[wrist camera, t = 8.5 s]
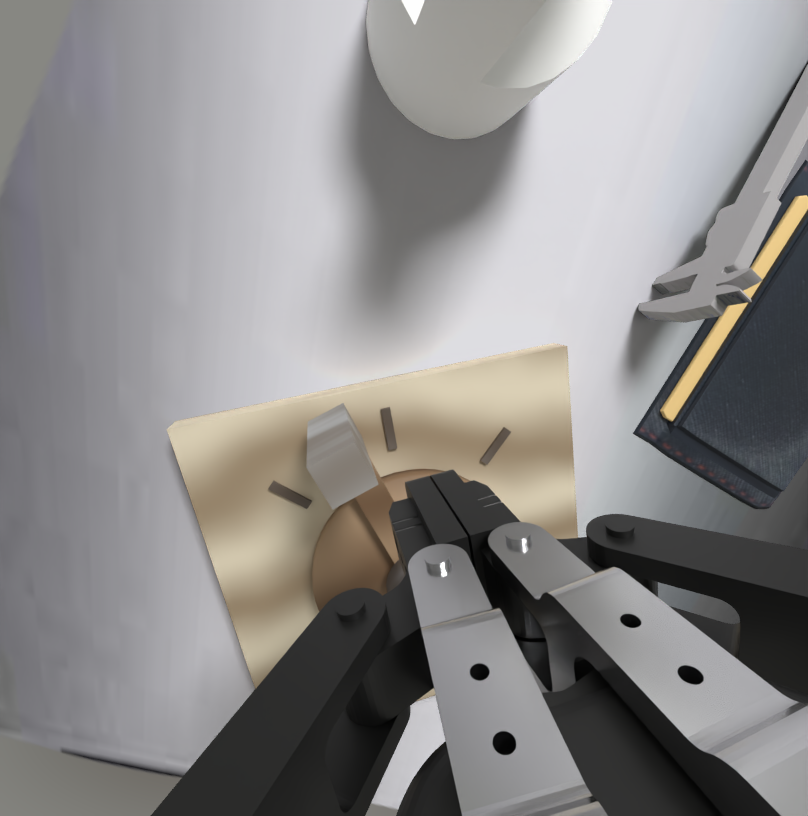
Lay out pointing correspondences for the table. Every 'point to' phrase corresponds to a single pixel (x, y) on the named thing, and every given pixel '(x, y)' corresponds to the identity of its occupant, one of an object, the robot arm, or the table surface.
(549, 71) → the cylinder with rectangular tab
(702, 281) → the caliper
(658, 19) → the table surface
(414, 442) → the dial board
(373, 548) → the dial
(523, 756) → the robot arm
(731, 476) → the dark grey flat block
